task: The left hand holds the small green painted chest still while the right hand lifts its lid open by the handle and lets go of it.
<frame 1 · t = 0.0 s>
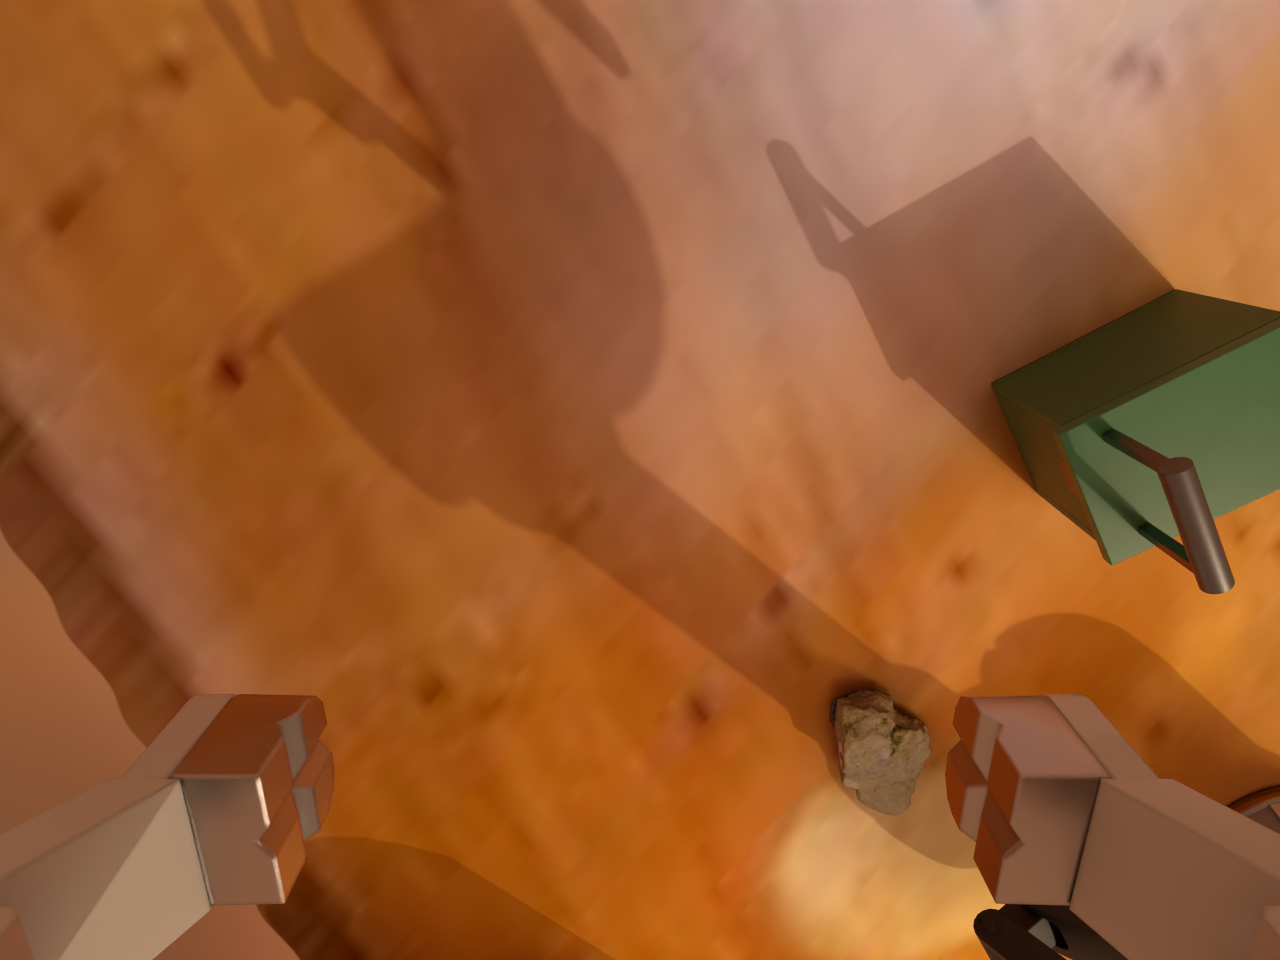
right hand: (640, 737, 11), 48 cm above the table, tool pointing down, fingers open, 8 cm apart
rock: (866, 735, 69), on the table
chest: (1103, 396, 58), on the table
lid: (1238, 466, 45), point 14 cm above the table, hinge at 0.0°
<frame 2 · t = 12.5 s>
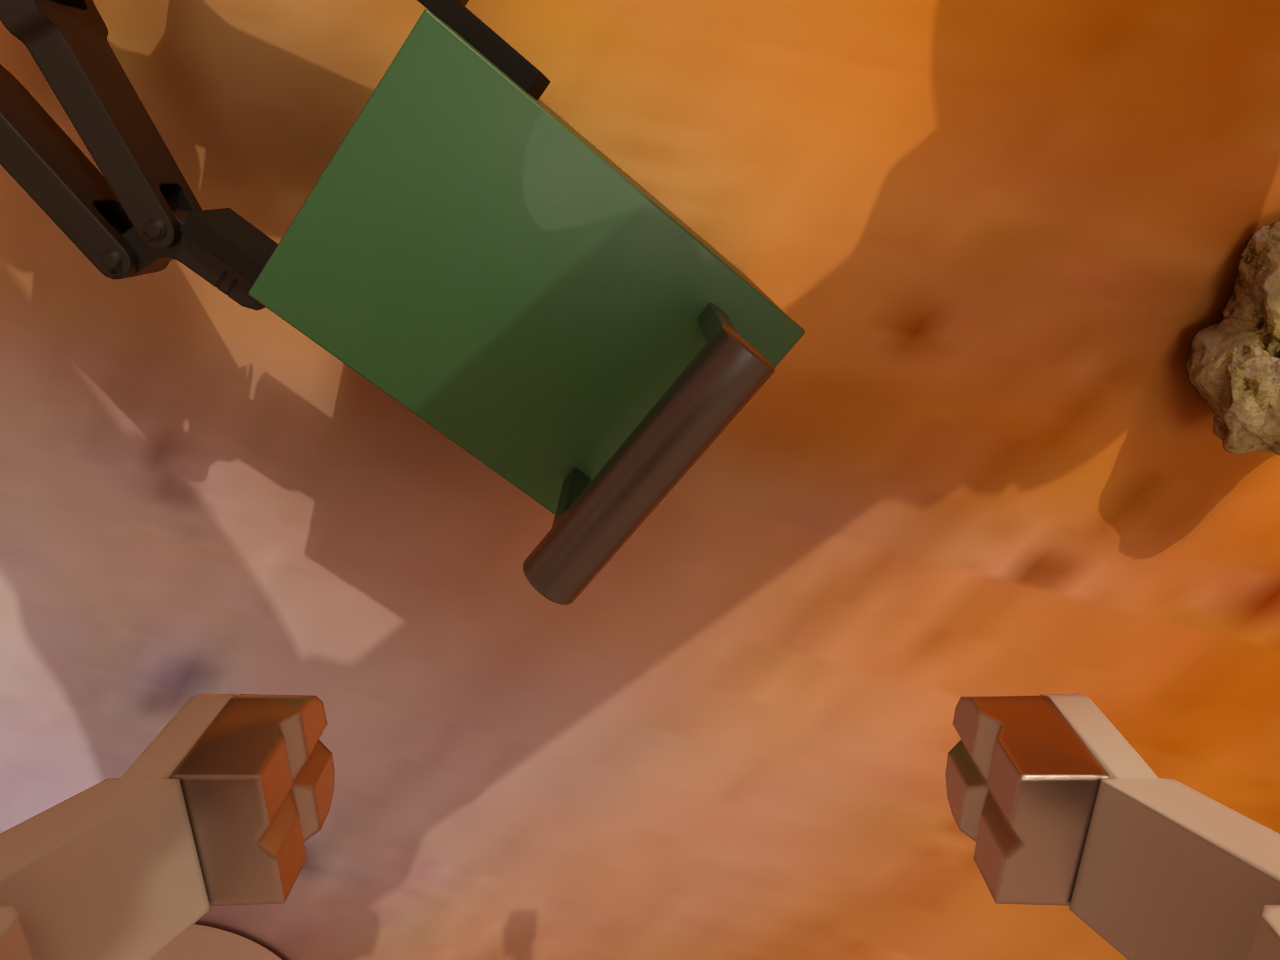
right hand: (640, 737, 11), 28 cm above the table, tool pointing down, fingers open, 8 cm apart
chest: (556, 266, 35), on the table, touching left hand
lid: (514, 332, 22), point 14 cm above the table, hinge at 0.0°
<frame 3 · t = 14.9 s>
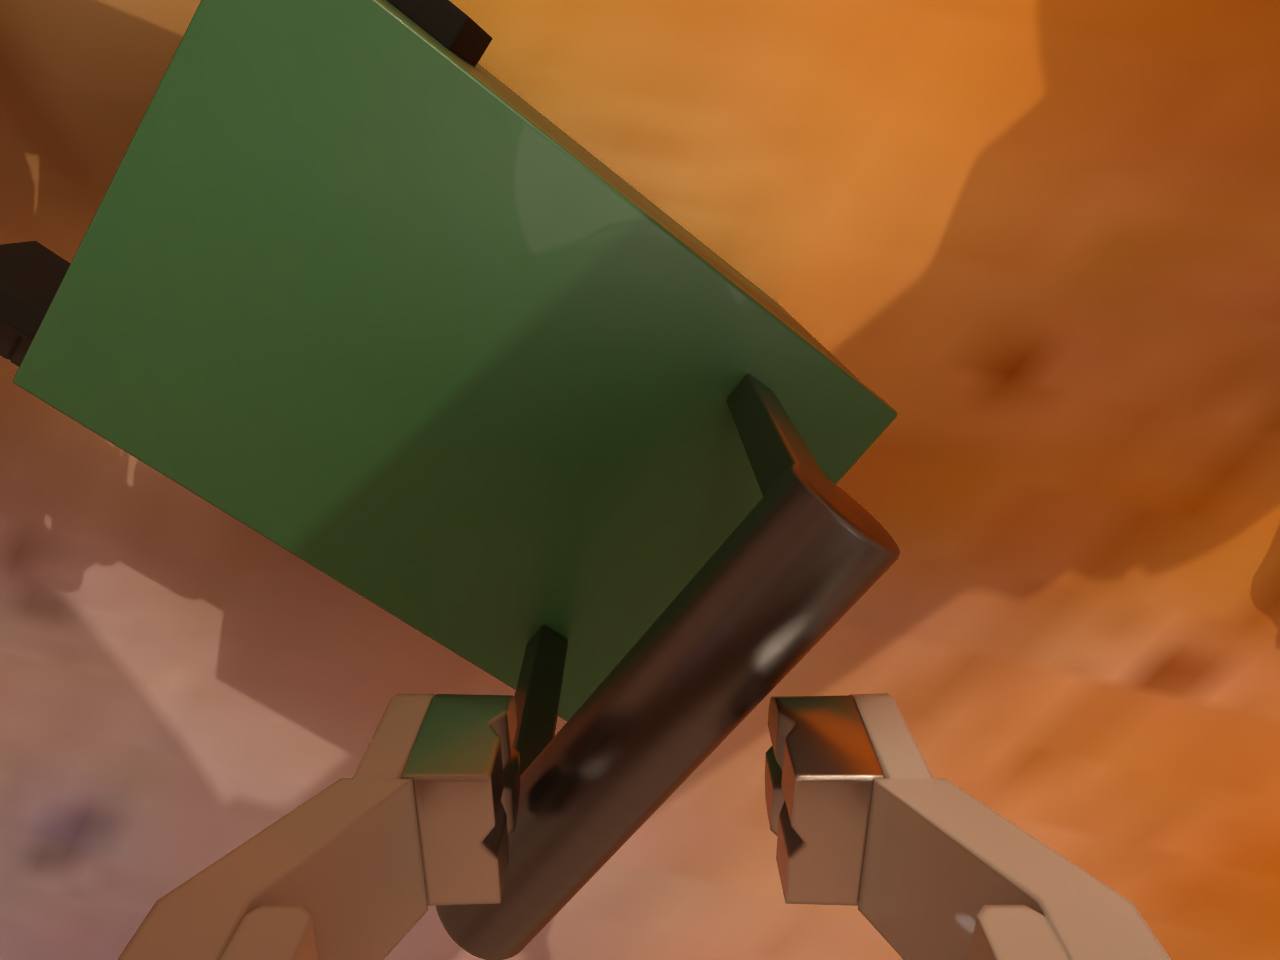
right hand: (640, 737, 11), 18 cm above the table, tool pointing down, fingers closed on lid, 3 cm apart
chest: (523, 301, 26), on the table, touching left hand
lid: (417, 451, 13), point 14 cm above the table, hinge at -0.2°, touching right hand
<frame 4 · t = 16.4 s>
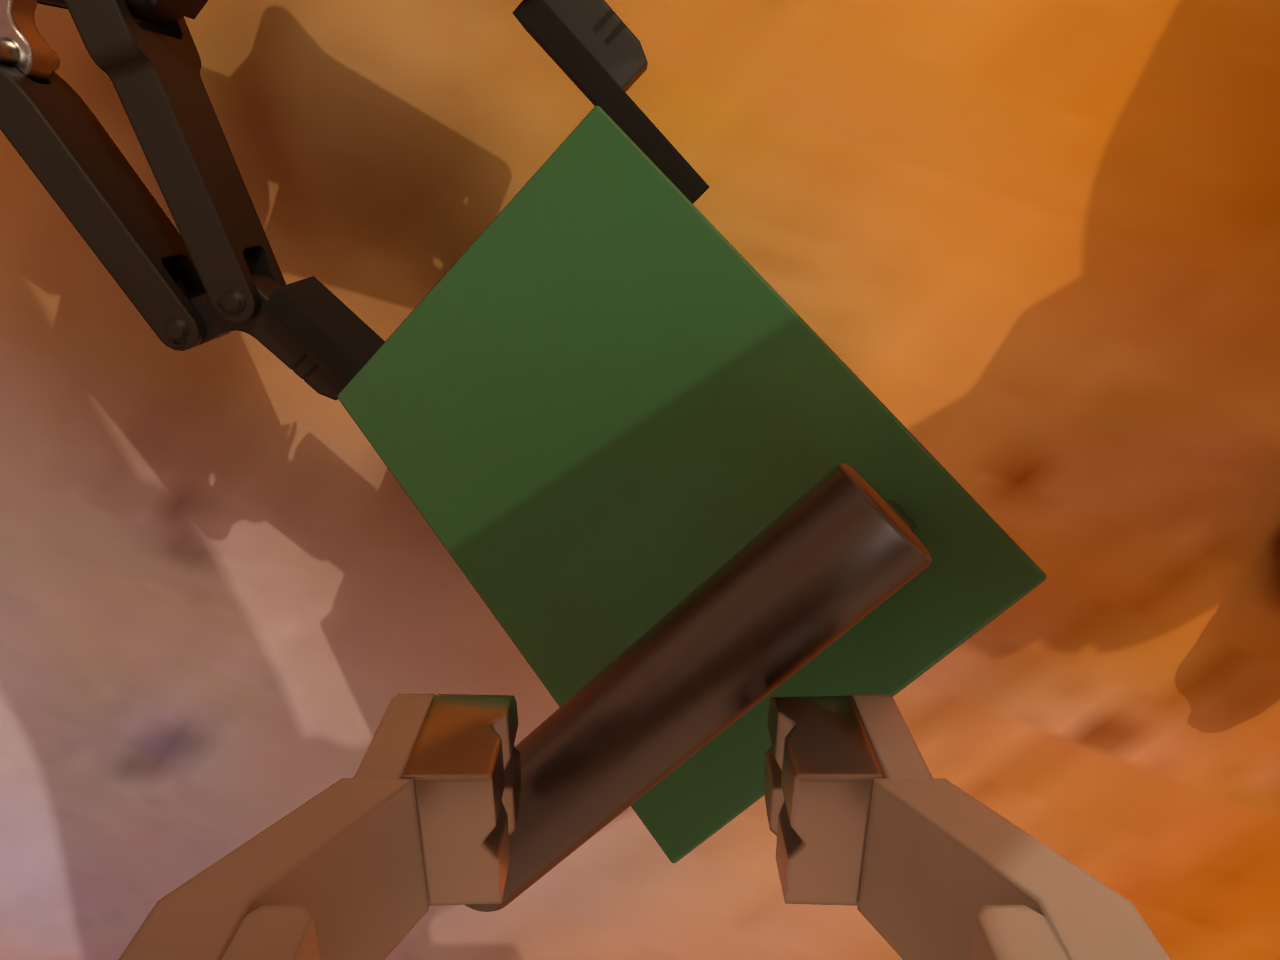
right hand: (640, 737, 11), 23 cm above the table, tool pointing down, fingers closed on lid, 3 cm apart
lid: (571, 465, 15), point 17 cm above the table, hinge at 29.7°, touching right hand
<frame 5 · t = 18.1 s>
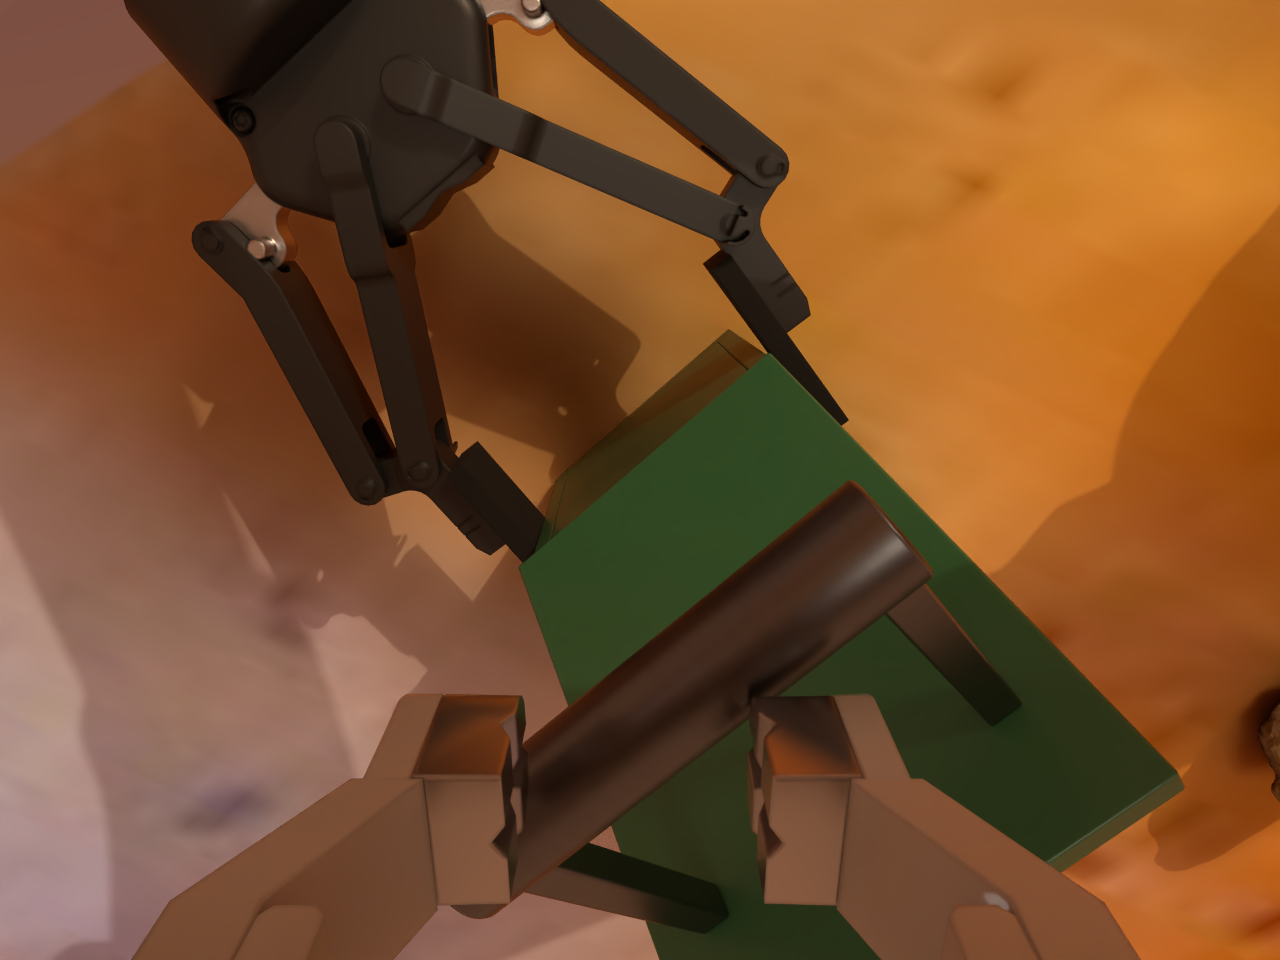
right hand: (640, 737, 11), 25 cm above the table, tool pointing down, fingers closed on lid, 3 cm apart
left hand: (701, 508, 29), fingers closed on chest, 10 cm apart
chest: (740, 517, 36), on the table, touching left hand
lid: (671, 582, 17), point 19 cm above the table, hinge at 59.8°, touching right hand
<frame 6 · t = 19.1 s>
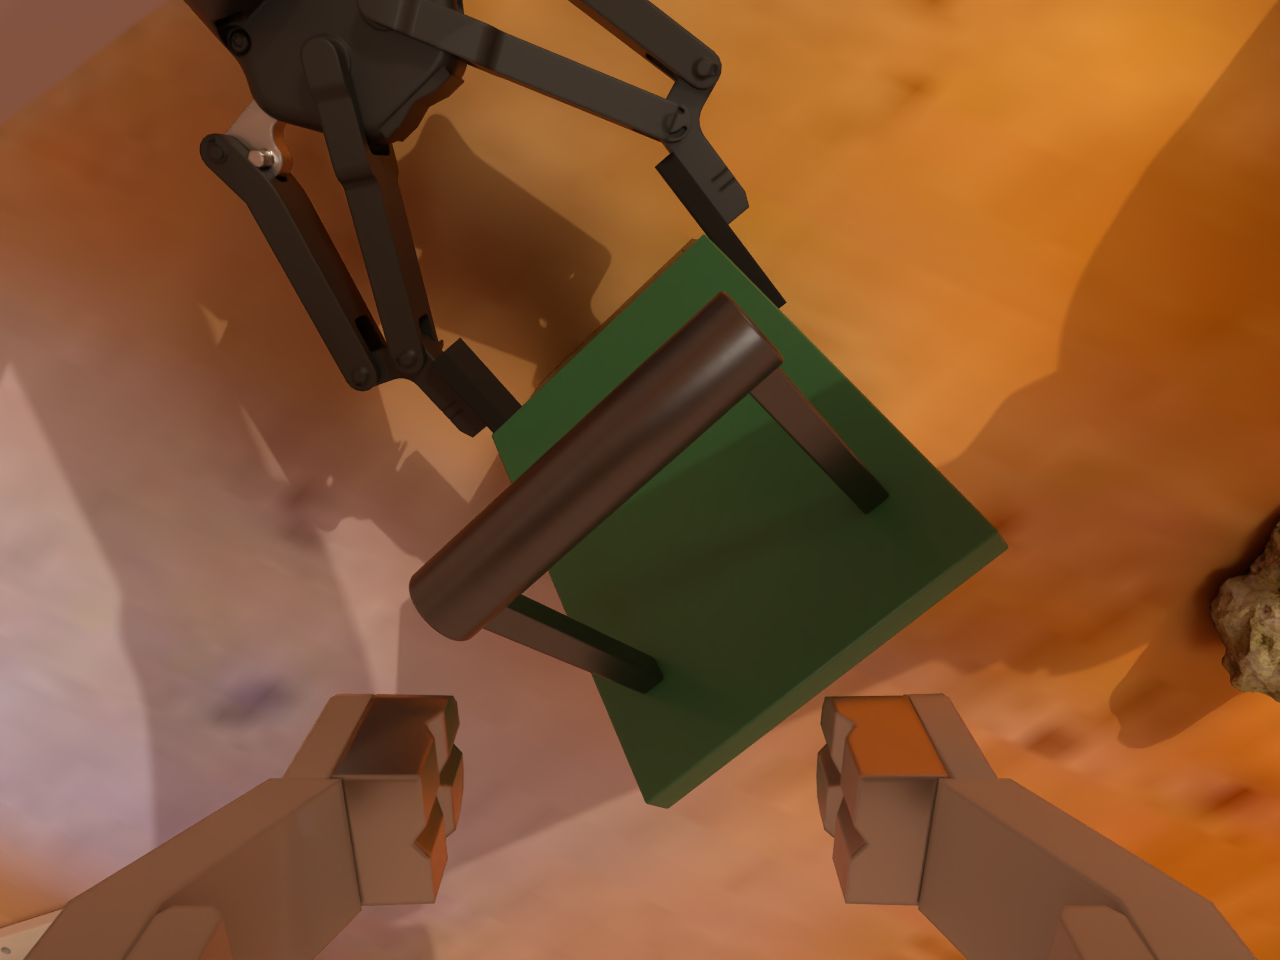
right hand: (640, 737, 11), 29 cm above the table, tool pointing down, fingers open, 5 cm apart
left hand: (661, 392, 32), fingers closed on chest, 10 cm apart
chest: (709, 417, 39), on the table, touching left hand
lid: (610, 416, 20), point 19 cm above the table, hinge at 56.1°
when the left hand's fingers open (7 cm above the table, at t = 22.0 s): chest stays where it is, on the table.
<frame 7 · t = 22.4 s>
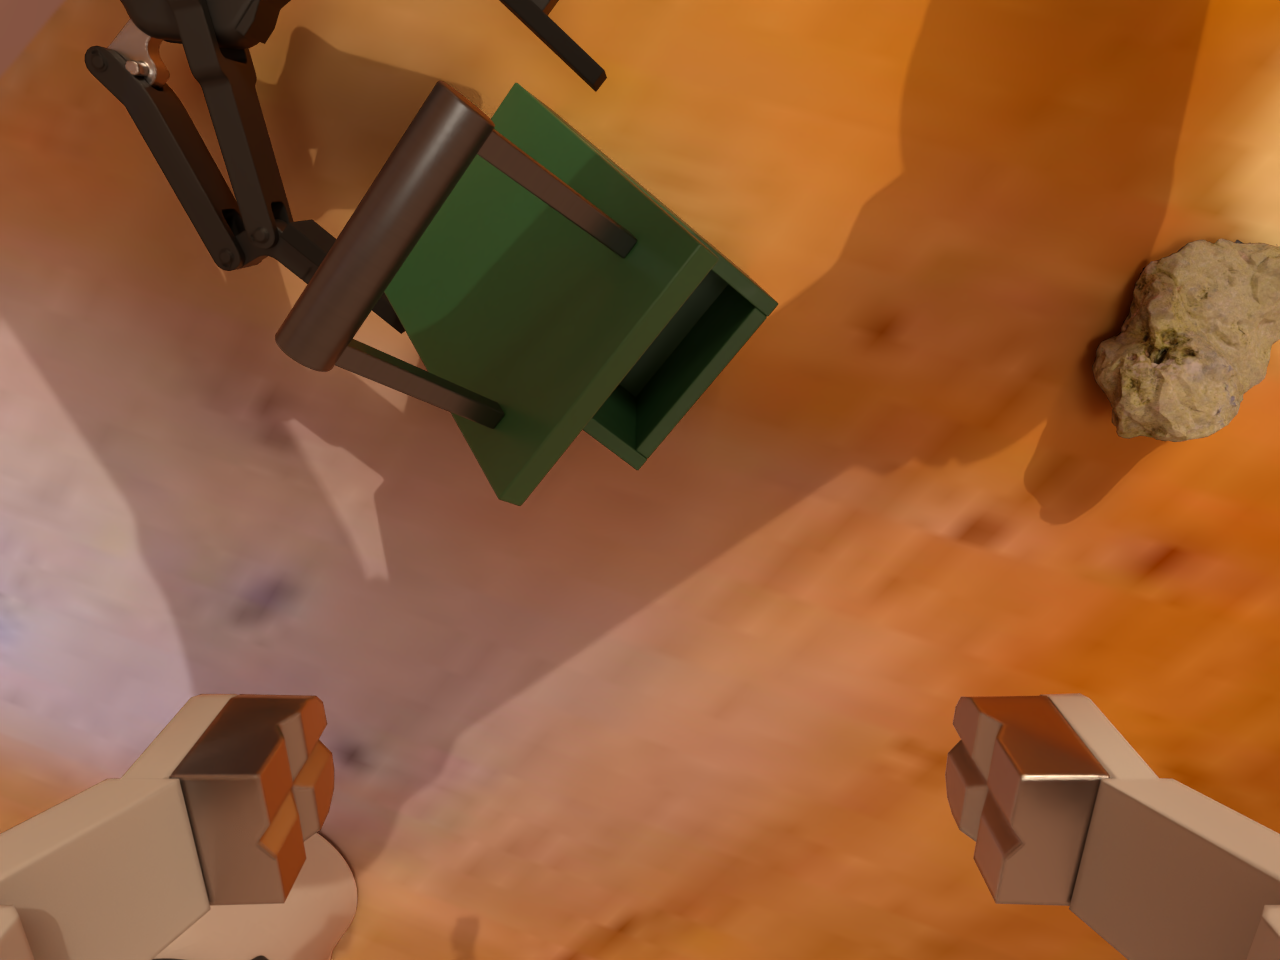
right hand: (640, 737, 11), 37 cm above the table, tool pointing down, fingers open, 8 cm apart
rock: (1176, 335, 46), on the table
chest: (597, 269, 45), on the table
lid: (433, 223, 26), point 19 cm above the table, hinge at 53.8°
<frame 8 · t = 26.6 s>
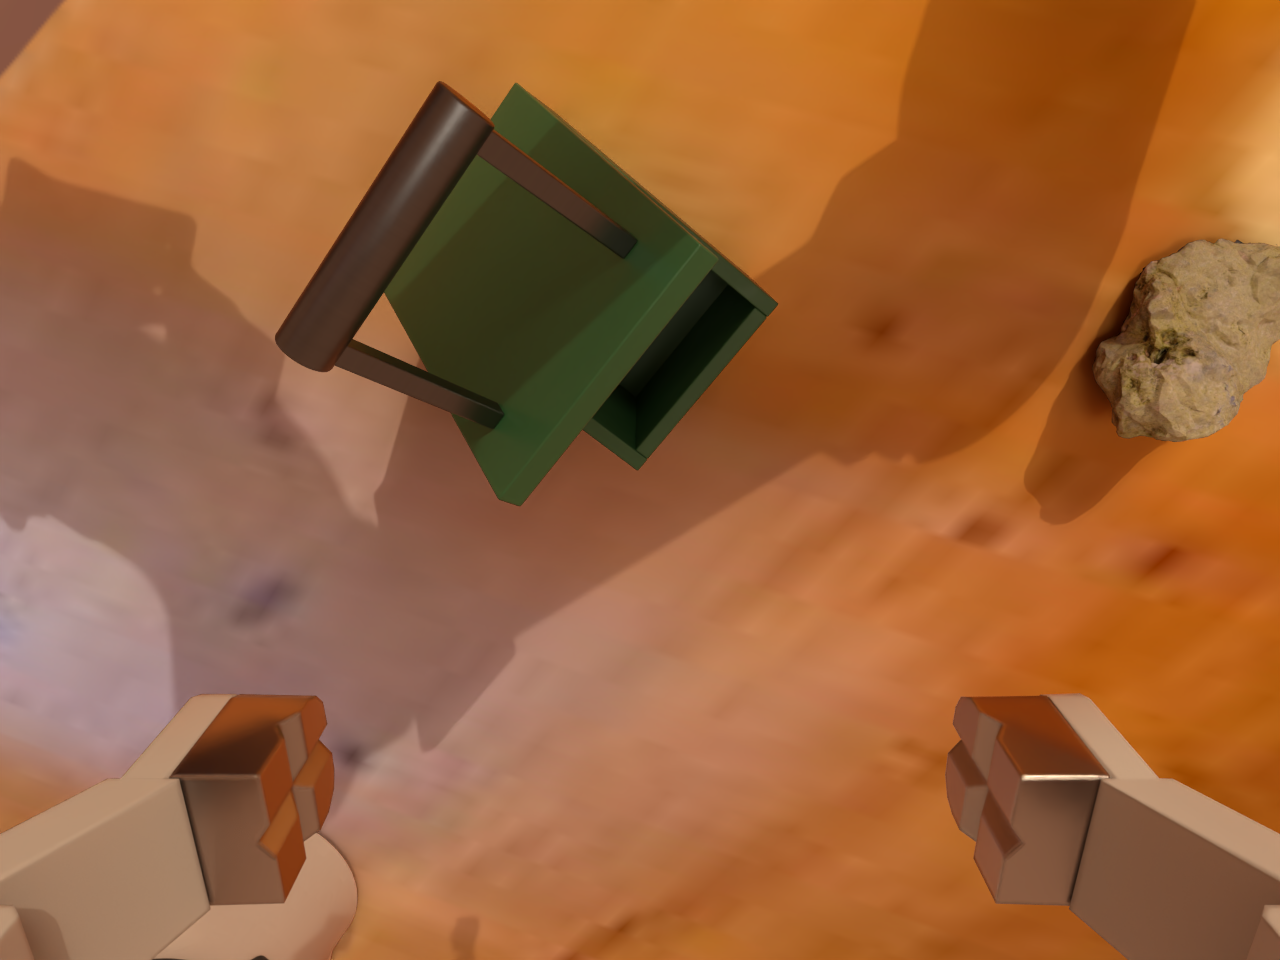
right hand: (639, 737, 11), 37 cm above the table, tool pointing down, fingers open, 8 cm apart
rock: (1176, 335, 46), on the table
chest: (597, 269, 45), on the table
lid: (433, 223, 26), point 19 cm above the table, hinge at 53.8°
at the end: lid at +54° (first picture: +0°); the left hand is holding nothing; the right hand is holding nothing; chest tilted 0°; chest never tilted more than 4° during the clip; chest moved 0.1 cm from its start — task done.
